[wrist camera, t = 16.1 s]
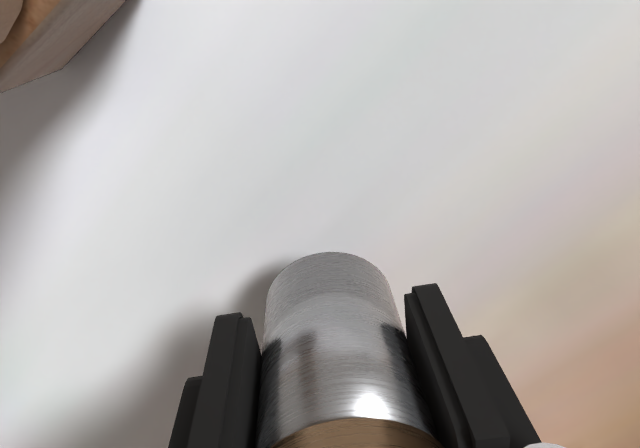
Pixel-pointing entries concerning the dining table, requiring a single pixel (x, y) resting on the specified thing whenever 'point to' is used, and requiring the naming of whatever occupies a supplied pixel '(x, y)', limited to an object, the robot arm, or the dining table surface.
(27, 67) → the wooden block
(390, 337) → the peg
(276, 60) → the dining table surface
